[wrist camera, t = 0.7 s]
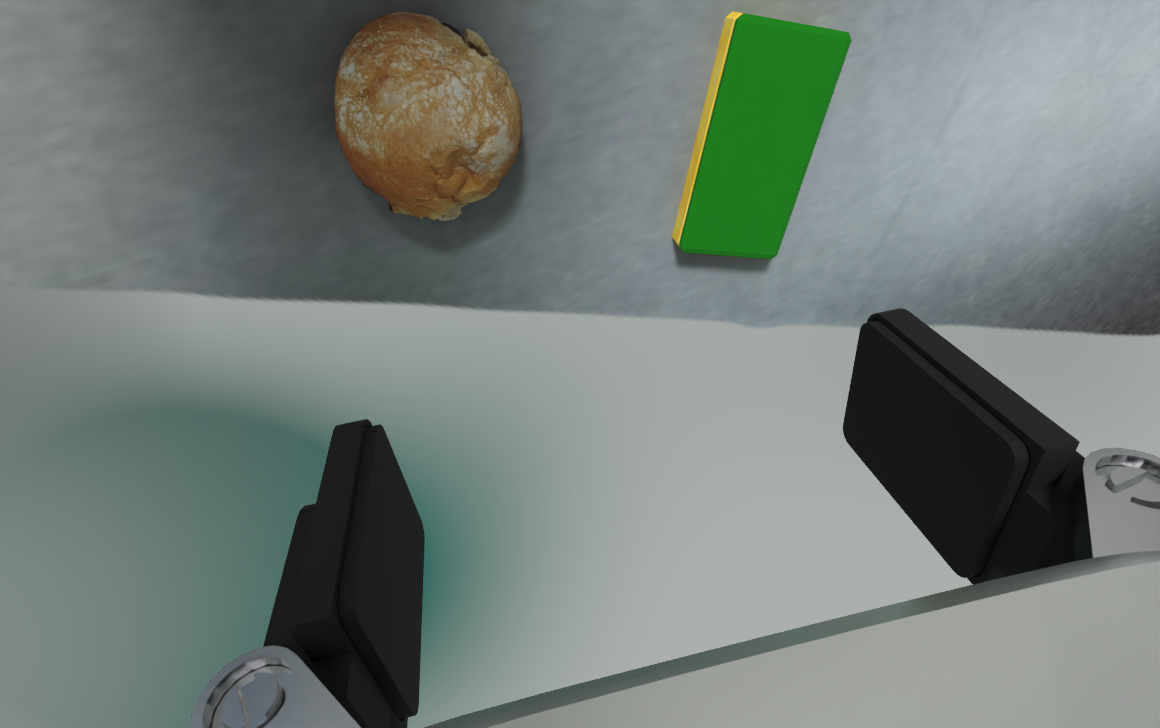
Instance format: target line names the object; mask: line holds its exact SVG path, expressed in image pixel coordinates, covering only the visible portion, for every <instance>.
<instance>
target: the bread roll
mask: <svg viewBox="0 0 1160 728" xmlns="http://www.w3.org/2000/svg"><path fill="white" fill-rule="evenodd" d="M334 110H335V121H336V133H337V138H338V140H339V142H340V146H341V149H342V152H343V154H344V155H345V157H346V159H347V161H348V163H349V165H350V167H351V169H352V170H353V172H354V173H355V174H356V176H357V177H358V178H359V179H360V180H361V182H362V183H363V184H362V185H363V186H365V187H367V188H369V189H371V191H373V192H374V193H376V194H378V195H381V196H383V197H384V198H385V199H386V200H387V202H388V203H389V209H390V211H391V212H393V213H401V214H405V215H412V216H416V217H418V218H421V219H424V217H428V218H430V219H432V220H435V219H438V220H440V221H448V220H452V219H453V220H454V219H456V218H457V217H458V216H459V215H460V214H462V213H463V212H462V207H463V206H465V205H467V204H468V203H471V202H475V201H479V200H481V199H483V198H485V197H488V196H490V193H491V192H493V191H495V190H496V189H497V186H498V184H499V182H500V180H501V179H502V178H503V177H504V176H505V175H506V174H507V173H508V171H509V170H510V168H511V166H512V164H513V162H514V160H515V158H516V156H517V153H518V152H519V148H520V144H521V132H522V114H521V104H520V100H519V97H518V95H517V93H516V91H515V89H514V87H513V85H512V82H511V80H510V78H509V76H508V75H507V74H506V71H505V70H504V69H502V67H501V65H500V62H499V60H498V58H496V57H493V55H491V50H490V48H489V46H488V45H487V44H486V43H485V41H484V40H483V38H482V37H481V36H480V35H478V34H477V33H476V32H474V31H472V30H470V29H467V28H466V30H465V32H464V34H461V33H460V32H459V31H458V29H456V28H454V27H452V26H451V25H448V24H446V23H440V22H439V21H438V20H437V19H436V18H434V17H432V16H428V15H424V14H418V13H412V12H395V13H391V14H388V15H385V16H381V17H379V18H377V19H375V20H373V21H371V22H370V23H368V24H367V25H365V26H364V27H363V28H362V29H361V30H360V31H359V32H358V33H357V34H356V35H355V36H354V37H353V39H352V40H351V42H350V43H349V45H348V46H347V48H346V49H345V51H344V53H343V55H342V57H341V59H340V63H339V68H338V71H337V75H336V84H335V99H334Z"/></svg>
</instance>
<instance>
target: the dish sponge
mask: <svg viewBox="0 0 1160 728" xmlns="http://www.w3.org/2000/svg"><path fill="white" fill-rule="evenodd" d="M850 43H851V38H850V35H849V32H844V31H838V30H833V29H827V28H822V27H816V26H811V25H805V24H799V23H794V22H788V21H783V20H777V19H772V18H766V17H761V16H755V15H750V14H744V13H738V12H732V13H730V14H729V15H728V16H727V17H726V18H725V22H724V26H723V30H722V34H721V38H720V43H719V47H718V51H717V55H716V59H715V63H714V67H713V71H712V75H711V80H710V84H709V88H708V92H707V96H706V100H705V104H704V108H703V112H702V117H701V121H700V125H699V129H698V133H697V137H696V141H695V145H694V149H693V153H692V158H691V162H690V166H689V170H688V174H687V178H686V182H685V186H684V190H683V195H682V199H681V203H680V207H679V211H678V215H677V219H676V223H675V227H674V232H673V236H672V238H673V239H674V241H675V242H676V243H677V245H678V246H679V247H680V248H681V249H682V251H683V252H685V253H698V254H711V255H724V256H737V257H749V258H762V259H772V258H773V257H775V256H776V255H777V254H778V251H779V248H780V245H781V242H782V239H783V236H784V233H785V231H786V228H787V225H788V222H789V219H790V216H791V213H792V210H793V207H794V205H795V202H796V199H797V196H798V193H799V190H800V187H801V184H802V181H803V179H804V176H805V173H806V170H807V167H808V164H809V161H810V158H811V155H812V153H813V150H814V147H815V144H816V141H817V138H818V135H819V132H820V129H821V126H822V124H823V121H824V118H825V115H826V112H827V109H828V106H829V103H830V100H831V98H832V95H833V92H834V89H835V86H836V83H837V80H838V77H839V74H840V72H841V69H842V66H843V63H844V60H845V57H846V54H847V51H848V48H849V46H850Z"/></svg>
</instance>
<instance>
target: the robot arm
mask: <svg viewBox="0 0 1160 728" xmlns="http://www.w3.org/2000/svg"><path fill="white" fill-rule="evenodd" d="M843 432H844V436H845V439H846V441H847V442H848V444H849V445H850V446H851V448H852V449H853V450H854V451H855V453H857V455H858V456H859V457H860V458H861V460H862V461H863V462H864V463H865V465H866V466H867V467H868V468H869V469H870V471H871V472H872V473H873V474H874V475H875V477H876V478H877V479H878V480H879V481H880V483H881V484H882V485H883V486H884V487H885V489H886V490H887V491H888V492H889V493H890V495H891V496H892V497H893V498H894V500H895V501H896V502H897V503H898V504H899V505H900V507H901V508H902V509H903V510H904V512H905V513H906V514H907V515H908V516H909V518H910V519H911V520H912V521H913V523H914V524H915V525H916V526H917V527H918V528H919V530H920V531H921V532H922V533H923V535H924V536H925V537H926V538H927V539H928V541H929V542H930V543H931V544H932V545H933V547H934V548H935V549H936V550H937V551H938V553H939V554H940V555H941V556H942V558H943V559H944V560H945V561H946V562H947V564H948V565H949V566H950V567H951V568H952V570H953V571H954V572H955V573H956V574H957V575H959V576H961V577H964V578H966V577H967V578H968V579H969V581H970V582H971V583H972V584H973V585H970V586H966V587H962V588H958V589H954V590H950V591H945V592H941V593H937V594H933V595H929V596H925V597H921V598H917V599H913V600H909V601H905V602H901V603H897V604H892V605H888V606H884V607H880V608H876V609H872V610H868V611H864V612H860V613H856V614H852V615H848V616H844V617H840V618H836V619H832V620H828V621H824V622H820V623H816V624H812V625H808V626H804V627H800V628H796V629H792V630H788V631H784V632H780V633H776V634H772V635H768V636H765V637H760V638H756V639H752V640H748V641H745V642H741V643H736V644H733V645H729V646H725V647H721V648H717V649H713V650H709V651H705V652H701V653H697V654H693V655H689V656H685V657H681V658H678V659H674V660H670V661H666V662H662V663H658V664H654V665H650V666H646V667H642V668H638V669H635V670H631V671H627V672H623V673H619V674H615V675H611V676H608V677H603V678H600V679H596V680H592V681H588V682H584V683H580V684H576V685H572V686H569V687H565V688H561V689H557V690H553V691H550V692H546V693H542V694H538V695H535V696H531V697H528V698H524V699H520V700H517V701H513V702H510V703H506V704H502V705H498V706H495V707H491V708H487V709H484V710H481V711H477V712H473V713H469V714H466V715H462V716H459V717H455V718H452V719H449V720H446V721H443V722H440V723H437V724H434V725H431V726H428V727H425V728H1160V458H1159V457H1156V456H1154V455H1151V454H1147V453H1143V452H1140V451H1136V450H1130V449H1122V448H1108V449H1101V450H1097V451H1095V452H1092V453H1090V454H1089V455H1088V456H1087V457H1086V458H1084V457H1083V456H1082V455H1080V454H1079V453H1078V452H1077V451H1076V449H1077V447H1078V444H1079V441H1077V439H1075V438H1074V437H1073V436H1071V435H1070V434H1068V433H1067V432H1066V431H1065V430H1063V429H1062V428H1060V426H1058V425H1057V424H1056V423H1054V422H1053V421H1051V420H1050V419H1049V418H1048V417H1046V416H1045V415H1044V414H1043V413H1041V412H1040V411H1039V410H1037V409H1036V408H1035V407H1033V406H1032V405H1031V404H1029V403H1028V402H1026V401H1025V400H1024V399H1023V398H1022V397H1020V396H1019V395H1018V394H1016V393H1015V392H1014V391H1012V390H1011V389H1010V388H1008V387H1007V386H1006V385H1004V384H1003V383H1002V382H1001V381H999V380H998V379H997V378H995V377H994V376H993V375H991V374H990V373H989V372H988V371H986V370H985V369H984V368H982V367H981V366H980V365H978V364H977V363H976V362H974V361H973V360H972V359H970V358H969V357H968V356H967V355H965V354H964V353H963V352H961V351H960V350H959V349H957V348H956V347H955V346H954V345H952V344H951V343H950V342H948V341H947V340H946V339H944V338H943V337H942V336H940V335H939V334H938V333H936V332H935V331H934V330H933V329H931V328H930V327H929V326H927V325H926V324H925V323H923V322H922V321H921V320H920V319H918V318H917V317H916V316H914V315H913V314H912V313H910V312H909V311H907V310H905V309H900V308H899V309H895V310H890V311H885V312H880V313H875V314H873V315H871V316H870V317H869V319H868V321H867V323H865V324H863V325H862V327H861V329H860V335H859V340H858V345H857V351H856V356H855V362H854V367H853V373H852V379H851V384H850V390H849V395H848V401H847V406H846V412H845V418H844V423H843ZM423 567H424V530H423V525H422V521H421V518H420V516H419V514H418V511H417V509H416V506H415V504H414V502H413V499H412V497H411V494H410V492H409V489H408V487H407V484H406V482H405V479H404V477H403V474H402V472H401V470H400V467H399V465H398V462H397V460H396V458H395V455H394V453H393V450H392V448H391V445H390V443H389V440H388V438H387V435H386V433H385V431H384V428H383V427H382V426H381V425H375V426H372V424H371V422H370V421H369V420H367V419H365V420H361V421H356V422H351V423H346V424H341V425H337V426H335V428H334V430H333V434H332V438H331V443H330V447H329V451H328V455H327V459H326V464H325V468H324V472H323V477H322V481H321V485H320V489H319V493H318V498H317V502H316V504H312V505H307V506H304V507H303V508H302V509H301V510H300V512H299V515H298V517H297V521H296V524H295V528H294V532H293V536H292V539H291V543H290V547H289V551H288V555H287V558H286V562H285V566H284V570H283V574H282V577H281V581H280V585H279V589H278V593H277V596H276V600H275V604H274V608H273V612H272V615H271V619H270V623H269V627H268V631H267V635H266V638H265V642H264V646H263V647H260V648H256V649H254V650H252V651H249V652H247V653H245V654H242V655H241V656H239V657H238V658H236V659H234V660H233V661H232V662H230V663H229V664H227V665H226V666H224V667H223V668H222V669H221V670H220V671H219V672H218V673H217V674H216V675H215V676H214V677H213V678H212V679H211V680H210V681H209V683H208V684H207V686H206V687H205V688H204V690H203V691H202V693H201V694H200V696H199V697H198V700H197V702H196V704H195V707H194V709H193V712H192V714H191V722H190V728H407V721H408V717H410V716H414V715H416V714H417V712H418V705H419V681H420V652H421V651H420V650H421V624H422V596H423Z"/></svg>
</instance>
